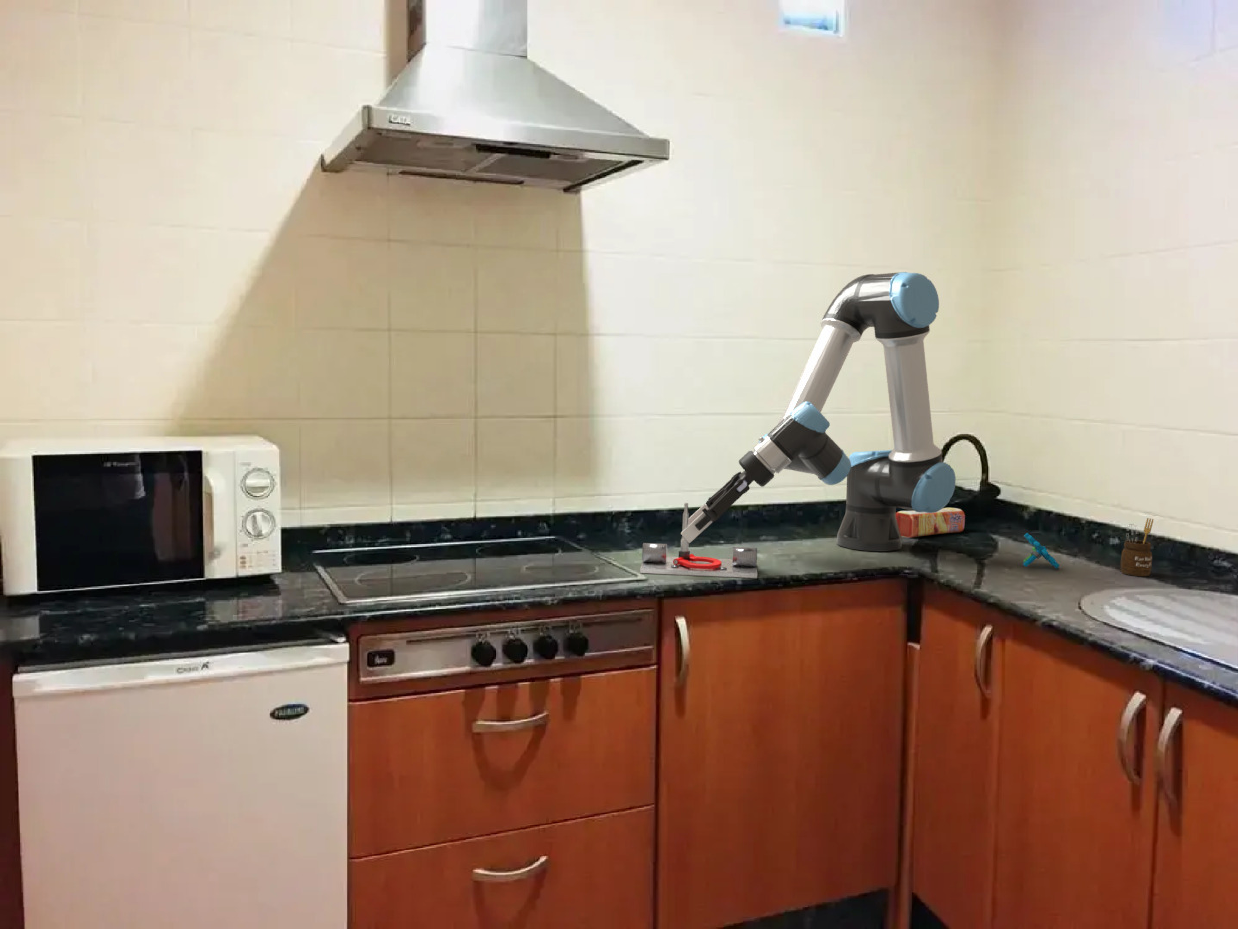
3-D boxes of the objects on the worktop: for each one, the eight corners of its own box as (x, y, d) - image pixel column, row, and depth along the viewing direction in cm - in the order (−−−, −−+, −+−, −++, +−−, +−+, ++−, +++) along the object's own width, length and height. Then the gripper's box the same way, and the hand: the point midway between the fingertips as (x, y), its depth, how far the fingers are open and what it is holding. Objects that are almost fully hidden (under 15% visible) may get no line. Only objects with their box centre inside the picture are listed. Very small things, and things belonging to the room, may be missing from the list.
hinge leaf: (644, 560, 225) (645, 537, 225) (755, 564, 223) (756, 542, 222) (640, 573, 212) (640, 549, 212) (757, 578, 210) (758, 554, 209)
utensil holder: (1113, 572, 224) (1118, 517, 222) (1134, 570, 226) (1139, 516, 225) (1136, 577, 218) (1141, 522, 217) (1157, 575, 221) (1162, 520, 219)
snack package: (946, 529, 274) (947, 504, 273) (966, 533, 269) (968, 507, 268) (891, 535, 263) (892, 509, 262) (911, 540, 257) (912, 513, 256)
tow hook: (728, 566, 216) (691, 559, 222) (731, 505, 215) (693, 500, 220) (708, 573, 210) (670, 566, 215) (711, 510, 208) (672, 505, 213)
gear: (1065, 566, 220) (1032, 531, 222) (1044, 584, 221) (1010, 549, 223) (1057, 563, 231) (1025, 529, 233) (1036, 580, 232) (1004, 547, 234)
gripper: (750, 443, 225) (676, 511, 228) (752, 454, 202) (671, 530, 206) (773, 468, 225) (699, 536, 228) (779, 482, 202) (696, 557, 206)
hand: (686, 533), depth 217 cm, fingers open, 10 cm apart
